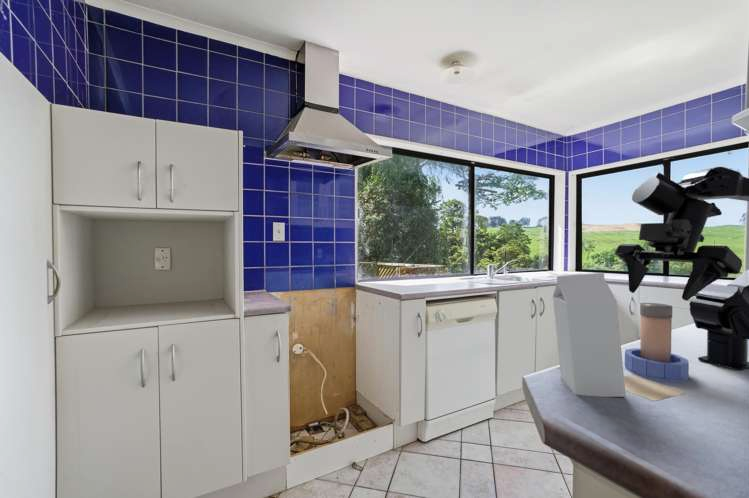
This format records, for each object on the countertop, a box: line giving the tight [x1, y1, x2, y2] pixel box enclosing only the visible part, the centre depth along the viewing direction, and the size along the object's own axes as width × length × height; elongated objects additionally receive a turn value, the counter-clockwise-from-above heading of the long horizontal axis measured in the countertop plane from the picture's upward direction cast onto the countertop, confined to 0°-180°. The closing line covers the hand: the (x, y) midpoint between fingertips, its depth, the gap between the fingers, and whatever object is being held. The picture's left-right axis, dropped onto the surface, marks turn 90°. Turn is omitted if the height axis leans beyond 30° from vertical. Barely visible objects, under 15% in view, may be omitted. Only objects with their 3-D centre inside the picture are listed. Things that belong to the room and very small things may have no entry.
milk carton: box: [552, 272, 627, 398], centre depth 57 cm, size 7×7×19 cm
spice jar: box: [639, 302, 673, 363], centre depth 63 cm, size 5×5×12 cm
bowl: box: [624, 348, 690, 383], centre depth 63 cm, size 9×9×4 cm
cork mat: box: [624, 374, 686, 402], centre depth 57 cm, size 8×8×1 cm
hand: (656, 295), depth 66 cm, fingers open, 9 cm apart
